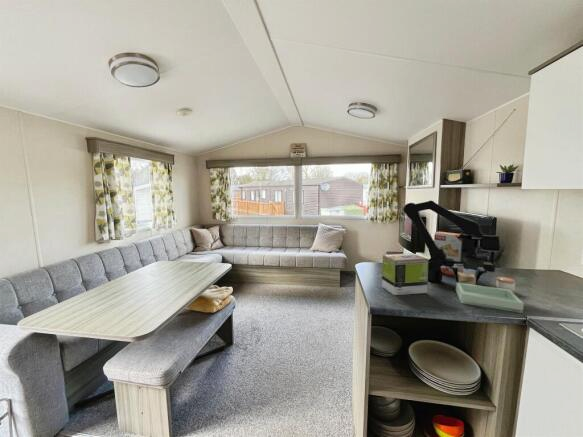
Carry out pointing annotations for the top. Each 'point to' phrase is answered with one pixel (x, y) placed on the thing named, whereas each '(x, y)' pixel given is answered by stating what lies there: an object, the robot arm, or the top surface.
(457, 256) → the cracker box
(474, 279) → the oak block
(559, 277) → the top surface
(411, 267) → the tea box
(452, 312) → the top surface
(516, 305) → the green tote
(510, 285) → the cream tub
